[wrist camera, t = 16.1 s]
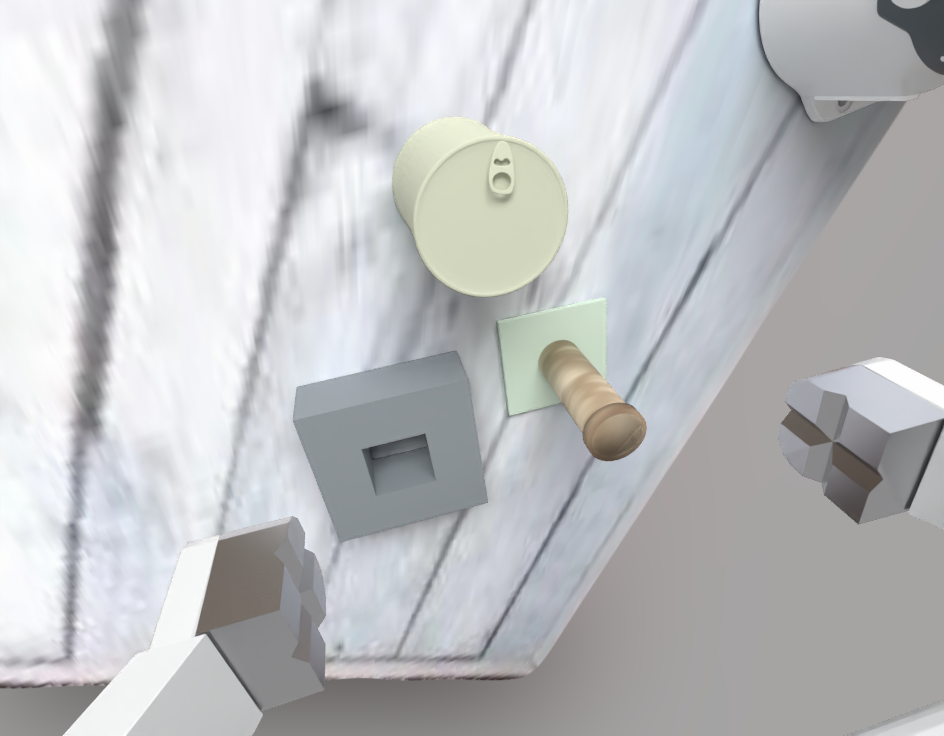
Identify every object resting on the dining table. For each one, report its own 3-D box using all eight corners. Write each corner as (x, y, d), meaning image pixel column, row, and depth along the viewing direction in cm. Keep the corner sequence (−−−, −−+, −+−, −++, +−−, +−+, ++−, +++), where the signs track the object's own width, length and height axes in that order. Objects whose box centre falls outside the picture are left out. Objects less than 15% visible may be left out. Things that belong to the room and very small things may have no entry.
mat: (603, 297, 47) (606, 299, 47) (603, 388, 52) (606, 391, 52) (496, 320, 46) (498, 323, 45) (507, 412, 51) (509, 415, 51)
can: (520, 122, 38) (587, 142, 28) (505, 246, 43) (557, 302, 33) (394, 110, 36) (416, 127, 26) (391, 242, 41) (409, 301, 30)
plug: (580, 331, 48) (646, 403, 37) (583, 373, 50) (646, 451, 40) (532, 343, 47) (586, 419, 37) (537, 385, 50) (589, 467, 39)
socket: (455, 350, 46) (467, 379, 42) (476, 468, 54) (488, 502, 49) (296, 387, 45) (292, 420, 40) (339, 503, 52) (340, 542, 48)
